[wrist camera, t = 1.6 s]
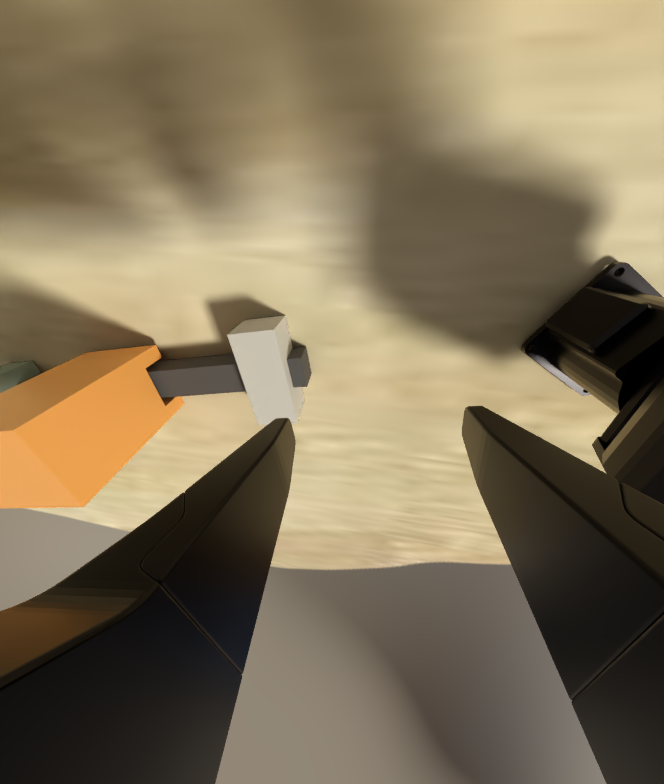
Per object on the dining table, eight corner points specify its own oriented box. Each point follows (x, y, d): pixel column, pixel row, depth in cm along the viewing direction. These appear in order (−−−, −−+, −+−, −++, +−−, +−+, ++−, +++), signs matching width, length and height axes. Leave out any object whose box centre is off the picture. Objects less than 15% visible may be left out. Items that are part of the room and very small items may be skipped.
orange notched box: (155, 344, 20) (13, 430, 12) (184, 403, 23) (83, 507, 15) (86, 352, 21) (-93, 437, 13) (121, 407, 24) (-8, 508, 16)
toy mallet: (299, 313, 19) (281, 340, 15) (316, 399, 22) (306, 440, 18) (-4, 349, 23) (-88, 378, 18) (52, 418, 26) (-8, 456, 22)
